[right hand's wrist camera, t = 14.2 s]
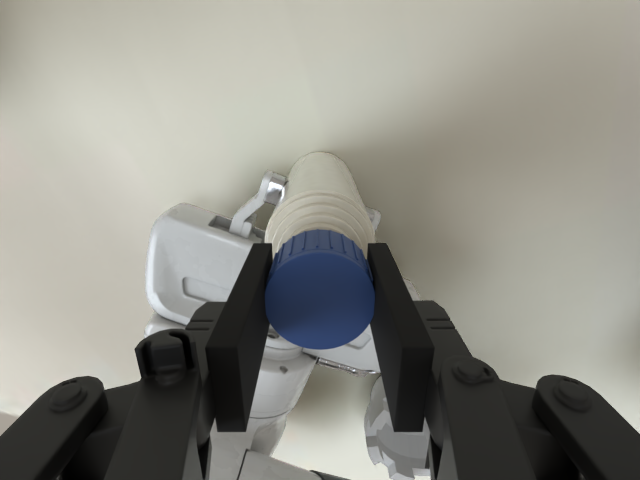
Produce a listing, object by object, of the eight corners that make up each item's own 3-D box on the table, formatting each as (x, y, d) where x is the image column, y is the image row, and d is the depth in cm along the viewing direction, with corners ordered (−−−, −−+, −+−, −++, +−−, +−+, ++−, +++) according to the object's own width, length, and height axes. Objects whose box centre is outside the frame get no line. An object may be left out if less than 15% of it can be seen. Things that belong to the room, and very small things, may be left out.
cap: (253, 290, 15) (242, 322, 13) (300, 209, 14) (296, 229, 11) (336, 330, 16) (339, 367, 14) (388, 257, 14) (400, 285, 12)
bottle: (274, 187, 30) (212, 303, 13) (317, 137, 29) (313, 193, 11) (322, 228, 32) (325, 382, 14) (365, 182, 30) (428, 293, 13)
